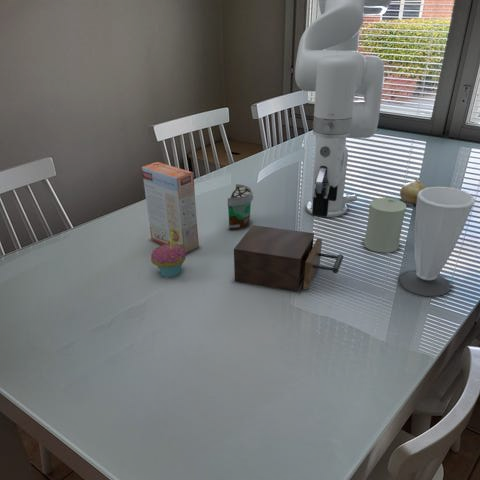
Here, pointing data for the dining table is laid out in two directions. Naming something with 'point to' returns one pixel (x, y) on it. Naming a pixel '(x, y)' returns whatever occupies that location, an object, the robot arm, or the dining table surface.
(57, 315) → the dining table surface
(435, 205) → the cup
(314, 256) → the drawer
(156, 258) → the cupcake
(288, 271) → the cabinet
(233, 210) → the food container
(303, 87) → the robot arm
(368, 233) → the can
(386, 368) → the dining table surface
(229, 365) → the dining table surface
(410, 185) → the onion
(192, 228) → the cracker box
